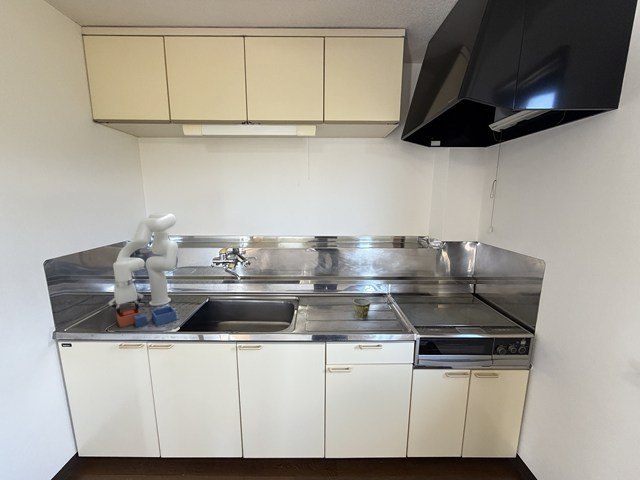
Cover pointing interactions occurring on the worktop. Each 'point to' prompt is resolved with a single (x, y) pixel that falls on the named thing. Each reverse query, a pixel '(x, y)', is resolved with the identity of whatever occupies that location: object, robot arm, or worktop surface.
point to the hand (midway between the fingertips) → (128, 312)
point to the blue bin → (163, 315)
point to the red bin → (127, 317)
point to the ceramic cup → (361, 308)
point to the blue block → (140, 320)
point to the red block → (128, 312)
